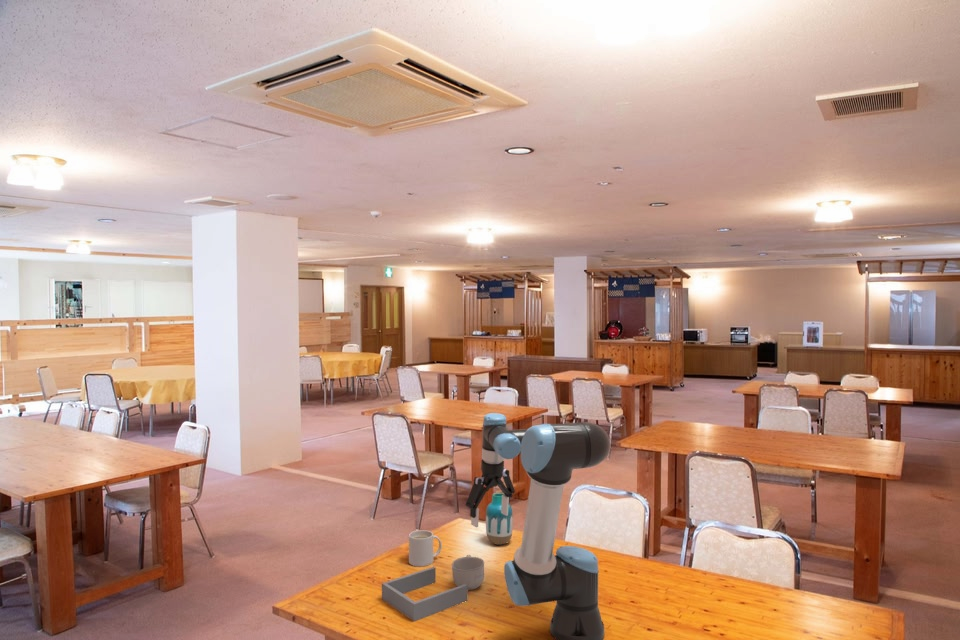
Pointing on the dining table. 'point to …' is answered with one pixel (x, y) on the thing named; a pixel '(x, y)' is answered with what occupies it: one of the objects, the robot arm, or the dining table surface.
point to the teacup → (468, 571)
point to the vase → (498, 521)
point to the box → (426, 606)
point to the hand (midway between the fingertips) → (489, 519)
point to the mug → (422, 548)
